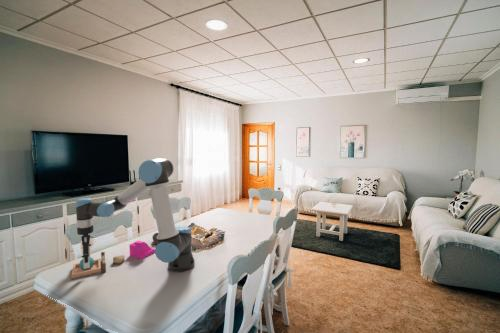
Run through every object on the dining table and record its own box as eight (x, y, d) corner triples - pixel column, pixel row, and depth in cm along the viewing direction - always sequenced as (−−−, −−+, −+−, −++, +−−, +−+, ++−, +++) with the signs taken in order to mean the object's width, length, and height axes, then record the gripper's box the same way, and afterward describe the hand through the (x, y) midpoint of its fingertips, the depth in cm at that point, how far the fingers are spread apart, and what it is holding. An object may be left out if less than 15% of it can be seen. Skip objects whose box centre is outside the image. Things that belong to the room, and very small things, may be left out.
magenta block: (141, 259, 151) (140, 243, 150) (129, 256, 156) (129, 240, 155) (156, 251, 162) (155, 236, 161) (145, 248, 166) (144, 234, 166)
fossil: (163, 237, 187) (166, 227, 183) (168, 245, 181) (172, 235, 178) (149, 240, 178) (152, 230, 175) (154, 249, 173) (158, 239, 170)
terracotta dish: (101, 272, 135) (101, 268, 135) (71, 279, 128) (71, 274, 127) (100, 262, 146) (100, 258, 146) (73, 268, 139) (73, 264, 139)
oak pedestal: (124, 262, 146) (124, 258, 146) (113, 265, 143) (113, 260, 143) (123, 258, 151) (123, 254, 151) (112, 261, 148) (112, 256, 148)
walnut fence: (106, 272, 135) (105, 263, 135) (102, 273, 134) (101, 264, 134) (104, 259, 150) (104, 251, 149) (101, 260, 149) (101, 252, 148)
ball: (94, 270, 136) (93, 258, 135) (79, 273, 132) (78, 261, 131) (94, 265, 142) (93, 253, 141) (79, 268, 138) (79, 256, 137)
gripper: (93, 231, 126) (95, 270, 128) (93, 219, 147) (94, 253, 149) (75, 234, 122) (77, 274, 124) (78, 221, 143) (80, 255, 145)
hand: (87, 262), depth 136 cm, fingers open, 13 cm apart
